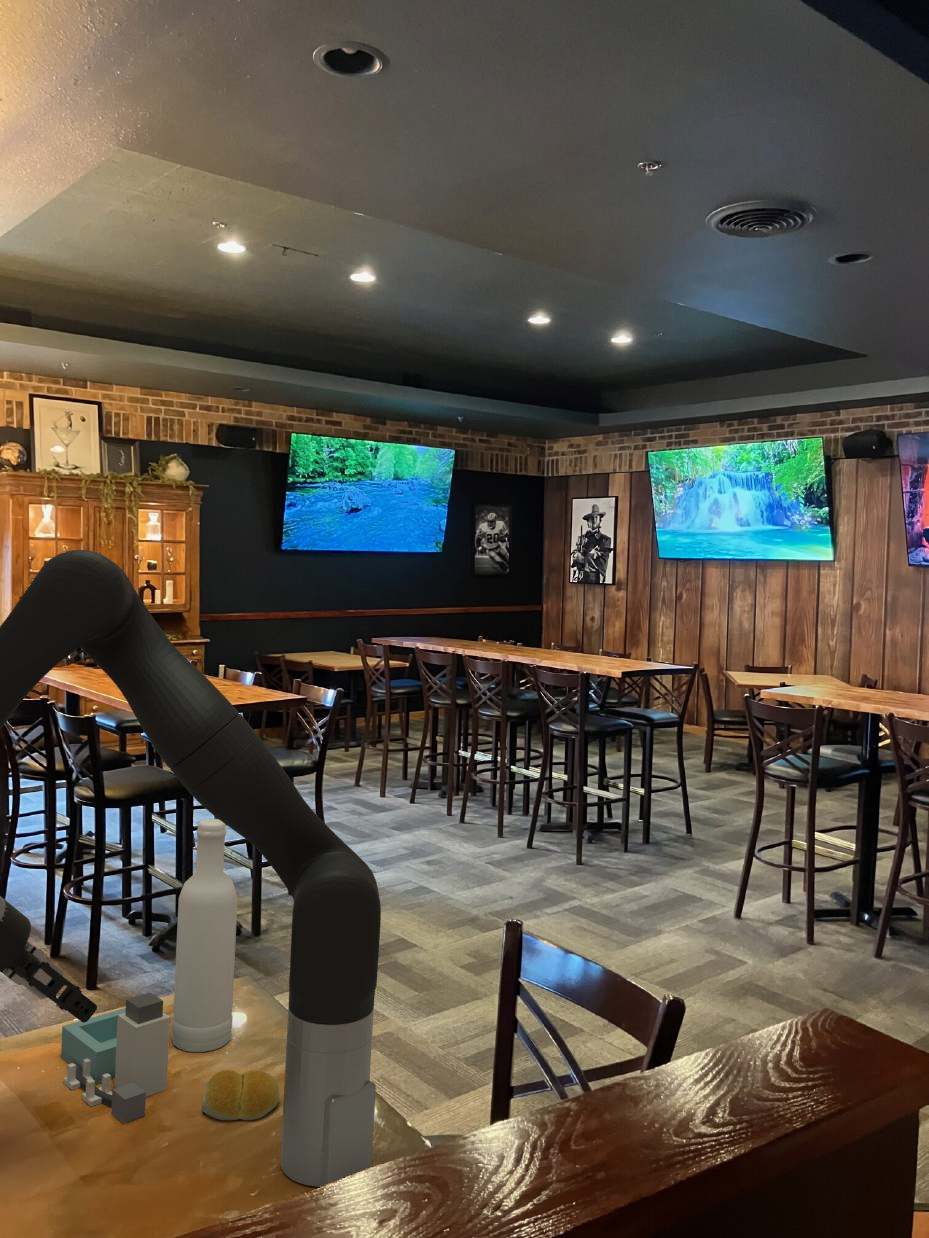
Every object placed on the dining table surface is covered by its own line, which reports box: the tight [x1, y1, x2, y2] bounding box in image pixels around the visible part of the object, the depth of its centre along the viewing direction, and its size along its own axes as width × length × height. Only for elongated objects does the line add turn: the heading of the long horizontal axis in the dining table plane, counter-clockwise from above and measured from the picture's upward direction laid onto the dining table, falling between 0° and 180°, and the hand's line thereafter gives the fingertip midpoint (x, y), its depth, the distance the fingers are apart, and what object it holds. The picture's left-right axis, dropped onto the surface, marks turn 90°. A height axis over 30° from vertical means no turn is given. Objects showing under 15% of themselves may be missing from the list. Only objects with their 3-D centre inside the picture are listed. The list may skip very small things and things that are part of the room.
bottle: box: [171, 818, 239, 1053], centre depth 133 cm, size 8×8×30 cm
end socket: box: [60, 1007, 126, 1086], centre depth 127 cm, size 10×10×4 cm
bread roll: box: [201, 1069, 280, 1121], centre depth 118 cm, size 8×9×4 cm
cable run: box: [62, 1058, 147, 1124], centre depth 118 cm, size 14×4×3 cm, turn 47°
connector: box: [114, 992, 171, 1097], centre depth 120 cm, size 4×4×11 cm
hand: (73, 1002), depth 113 cm, fingers open, 8 cm apart
